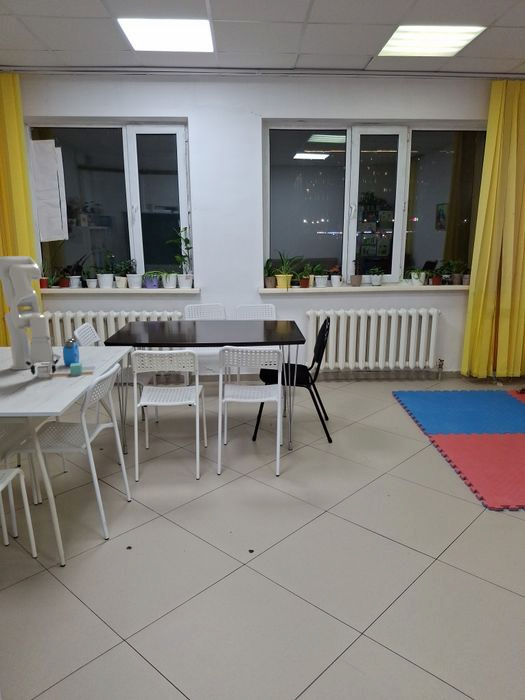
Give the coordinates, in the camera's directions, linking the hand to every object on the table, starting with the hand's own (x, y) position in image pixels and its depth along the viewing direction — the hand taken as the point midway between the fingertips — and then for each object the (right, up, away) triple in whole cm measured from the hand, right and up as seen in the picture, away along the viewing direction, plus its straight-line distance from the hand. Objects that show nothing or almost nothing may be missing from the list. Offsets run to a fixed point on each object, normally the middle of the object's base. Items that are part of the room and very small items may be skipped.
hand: (43, 373), depth 234 cm
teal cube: (+15, -1, +4) cm, 15 cm away
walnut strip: (+10, -2, +3) cm, 11 cm away
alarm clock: (+4, +3, +24) cm, 25 cm away
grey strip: (+8, 0, +13) cm, 15 cm away
